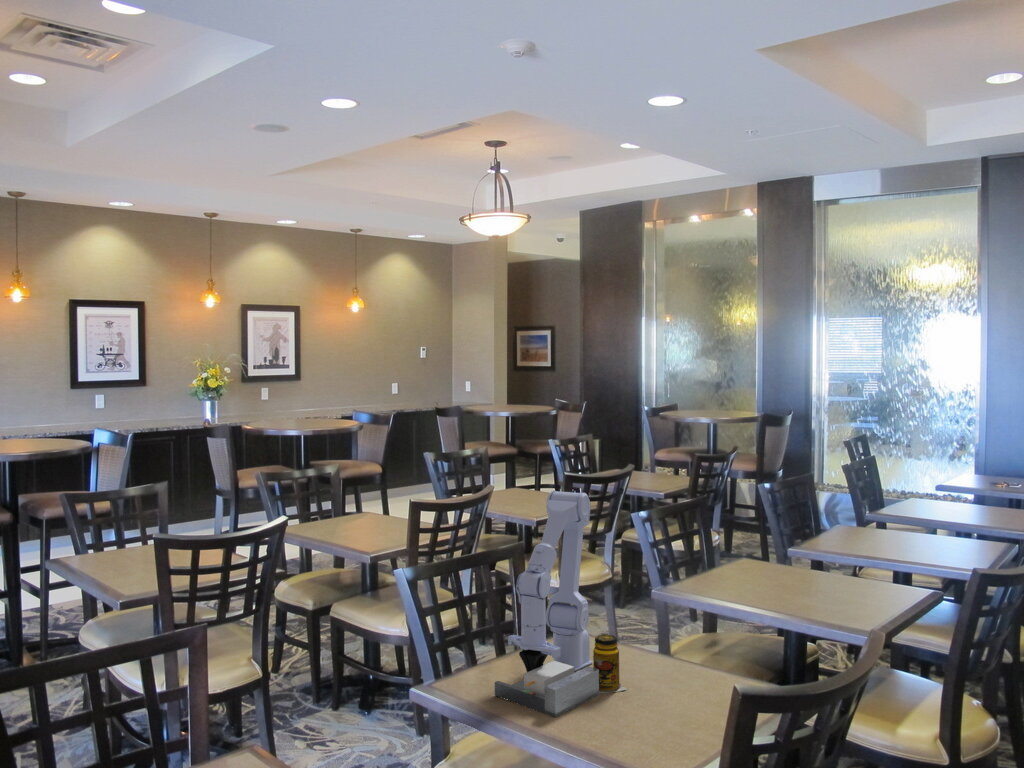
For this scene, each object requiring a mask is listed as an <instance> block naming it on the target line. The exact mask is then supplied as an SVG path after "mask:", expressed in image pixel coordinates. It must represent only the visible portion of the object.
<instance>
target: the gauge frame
mask: <svg viewBox="0 0 1024 768" xmlns="http://www.w3.org/2000/svg"><path fill="white" fill-rule="evenodd" d="M599 695H600V694H599V669H596V668H593V667H591V666H589V665H587V666H585V667H583V668H581V669H578V670H576V671H574V673H573V674H571V675H568V676H566V677H564V678H562V679H560V680H558V681H556V682H553V683H551V684H549V685H547V686H545V696H542V695H539V694H536V692H533V691H530V690H528V689H525V690H524V679H522V680H520V681H518V682H515V683H514V684H509V683H506V682H502V681H500V680H496V681H494V696H495V697H496V696H498V697H497V698H499V697H502V698H505V699H508V700H510V701H513V702H515V703H514V704H516V703H518V704H517V705H519V704H520V705H519V706H522V705H523V706H522V707H524V706H526V707H525V708H527V707H529V708H528V709H530V708H532V709H531V710H533V709H534V710H533V711H536V710H537V711H536V712H539V713H541V714H545V715H547V716H550V717H553V718H557V717H559V716H561V715H563V714H565V713H567V712H569V711H572V710H573V709H575V708H577V707H579V706H581V705H583V704H584V703H586V701H587V702H589V701H591V700H592V699H594V698H597V697H598V696H599ZM502 698H501V699H502ZM505 699H504V700H505ZM508 700H507V701H508ZM510 701H509V702H510ZM513 702H512V703H513ZM582 703H583V704H582Z"/></svg>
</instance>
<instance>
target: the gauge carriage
mask: <svg viewBox="0 0 1024 768" xmlns="http://www.w3.org/2000/svg"><path fill="white" fill-rule="evenodd" d="M552 661H553V660H552ZM552 661H550V663H549V662H548V664H547V663H545V664H543V666H541V667H539V668H536V669H534V670H532V671H529V672H527V671H526V672H525V673H524V674H523V680H524V690H525V689H528V690H530V691H533V692H536V694H539V695H542V696H545V686H547V685H549V684H551V683H553V682H556V681H558V680H560V679H562V678H564V677H566V676H568V675H571V674H573V673H575V671H574V666H570V665H567V664H564V663H560V662H557V661H553V662H552Z"/></svg>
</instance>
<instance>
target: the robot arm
mask: <svg viewBox="0 0 1024 768" xmlns="http://www.w3.org/2000/svg"><path fill="white" fill-rule="evenodd" d="M545 508H546V513H547V521H546V524H545V526H544V531H543V535H542V538H541V542H540V543H537V544H536V545H535V546H534V548H533V551H532V553H531V556H530V558H529V560H528V563H527V565H526V568H525V571H523V572H522V573H520V574H519V575H518V577H517V580H516V584H515V589H516V594H517V595H518V602H519V604H520V607H521V608H520V611H521V612H520V613H521V615H520V617H521V618H520V619H521V620H520V621H521V626H520V627H521V629H520V631H521V632H520V633H521V635H516V634H511V635H508V636H507V644H508V645H509V646H517V647H519V649H520V650H521V651H519V652H518V655H519V657H520V659H521V660H522V662H523V665H524V667H525V670H526V673H527V672H529V671H532V670H534V669H536V668H539V667H541V666H543V665H544V663H545V661H546V659H547V657H548V656H551V657H552V660H551V661H550V662H553V661H557V662H560V663H564V664H567V665H570V666H574V672H577V671H579V670H581V669H584V668H586V667H588V666H589V665H591V664H593V662H594V660H591V659H590V658H591V655H590V654H591V651H590V650H591V649H590V647H591V646H590V645H591V644H590V643H591V641H590V640H591V639H590V634H589V633H588V631H587V630H586V629H587V627H588V625H589V620H590V613H589V601H587V599H586V598H585V597H584V596H583V595H582V594H581V593H580V592H579V587H580V575H581V561H582V552H583V551H582V550H583V540H584V539H583V538H584V528H585V527H586V526H589V525H590V516H591V501H590V498H589V496H588V494H587V493H586V492H573V491H557V490H551V491H550V493H549V494H548V495H547V499H546V507H545ZM562 534H563V538H562V550H561V561H560V572H559V573H560V574H559V582H558V583H559V585H558V591H557V592H555V593H554V594H552V595H551V596H550V597H549V599H548V604H547V607H546V598H547V597H548V595H549V593H550V589H551V581H552V575H551V572H552V570H553V569H554V568H553V567H554V564H555V561H556V559H557V556H558V554H557V553H558V552H557V551H556V546H557V545H558V542H559V540H560V538H561V536H562ZM546 624H547V626H548V627H549V628H550V631H551V632H552V636H553V637H552V643H551V642H549V641H547V638H546V637H547V627H546ZM550 662H548V663H550ZM548 663H546V664H548Z"/></svg>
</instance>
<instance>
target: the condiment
mask: <svg viewBox="0 0 1024 768" xmlns="http://www.w3.org/2000/svg"><path fill="white" fill-rule="evenodd" d="M592 661H593V663H592V665H593V667H592V668H596V669H599V695H601V694H611V693H617V692H621V691H626V690H627V691H628V689H627V688H626V687H625V686H624V685H622V683H620V650H619V648H618V638H617V637H616V635H612V634H607V633H605V634H599V635H597V636H595V638H594V648H593V656H592Z"/></svg>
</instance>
